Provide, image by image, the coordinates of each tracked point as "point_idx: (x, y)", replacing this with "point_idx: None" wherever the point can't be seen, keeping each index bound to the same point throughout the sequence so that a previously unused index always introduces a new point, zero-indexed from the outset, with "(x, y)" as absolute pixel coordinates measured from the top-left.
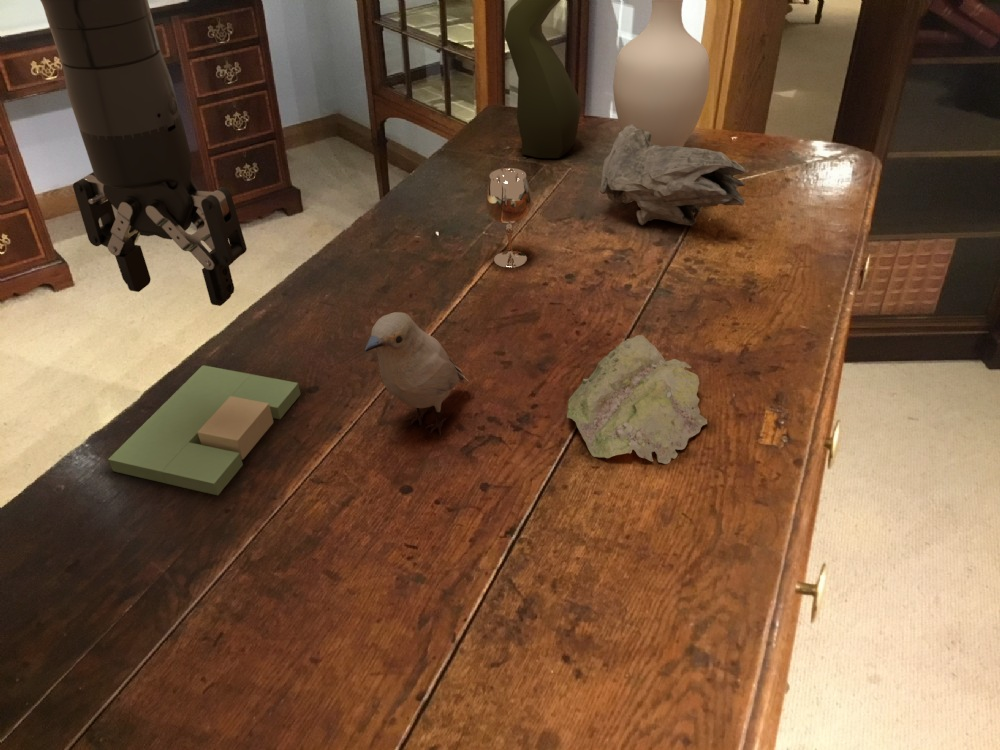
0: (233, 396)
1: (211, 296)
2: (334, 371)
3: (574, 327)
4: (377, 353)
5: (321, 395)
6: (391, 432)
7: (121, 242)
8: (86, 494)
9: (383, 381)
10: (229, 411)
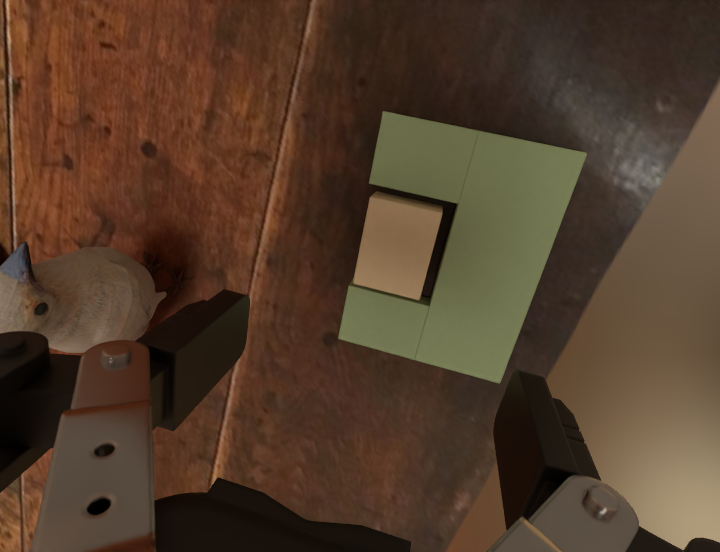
0: (423, 310)
1: (224, 302)
2: (314, 374)
3: None
4: (52, 267)
5: (315, 327)
6: (202, 255)
7: (546, 525)
8: (608, 93)
9: (100, 251)
10: (406, 263)
